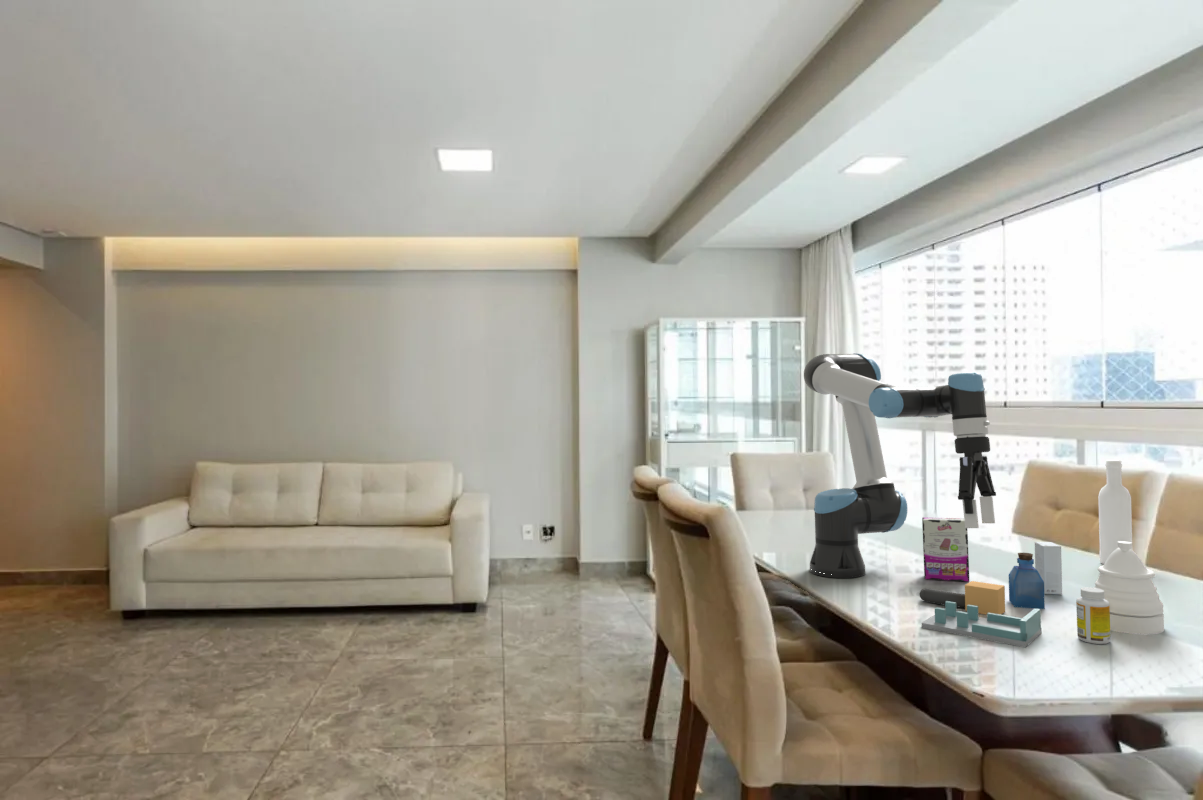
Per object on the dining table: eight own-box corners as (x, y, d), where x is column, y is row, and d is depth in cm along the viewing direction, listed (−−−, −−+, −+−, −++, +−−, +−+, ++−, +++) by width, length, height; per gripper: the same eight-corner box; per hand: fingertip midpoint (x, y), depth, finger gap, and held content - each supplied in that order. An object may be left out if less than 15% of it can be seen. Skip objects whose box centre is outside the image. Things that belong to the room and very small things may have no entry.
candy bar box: (968, 578, 200) (966, 517, 200) (969, 582, 195) (968, 520, 195) (923, 575, 204) (921, 516, 204) (923, 579, 199) (922, 519, 199)
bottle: (1132, 562, 213) (1129, 459, 213) (1134, 568, 206) (1131, 461, 206) (1099, 560, 217) (1096, 458, 217) (1100, 565, 211) (1097, 460, 211)
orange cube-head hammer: (916, 602, 177) (915, 577, 177) (923, 598, 181) (923, 574, 181) (998, 616, 164) (997, 589, 164) (1005, 611, 168) (1004, 585, 168)
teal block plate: (921, 627, 158) (920, 604, 158) (941, 615, 167) (941, 593, 167) (1025, 647, 144) (1024, 621, 144) (1041, 632, 153) (1041, 608, 153)
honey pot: (1167, 638, 148) (1165, 548, 148) (1091, 629, 155) (1089, 543, 155) (1160, 621, 159) (1158, 538, 159) (1089, 613, 166) (1087, 533, 166)
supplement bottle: (1116, 641, 146) (1114, 590, 146) (1102, 647, 143) (1101, 594, 143) (1085, 634, 151) (1084, 584, 151) (1071, 639, 148) (1070, 588, 148)
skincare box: (1063, 594, 181) (1061, 546, 181) (1044, 594, 182) (1042, 546, 182) (1053, 588, 187) (1052, 541, 187) (1034, 588, 188) (1033, 541, 188)
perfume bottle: (1038, 602, 175) (1037, 551, 175) (1044, 609, 170) (1043, 557, 170) (1009, 600, 177) (1007, 550, 177) (1014, 607, 172) (1013, 556, 172)
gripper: (972, 435, 165) (982, 530, 163) (1002, 435, 183) (1011, 521, 181) (937, 437, 170) (946, 530, 168) (970, 438, 188) (978, 521, 186)
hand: (980, 525), depth 175 cm, fingers open, 13 cm apart
